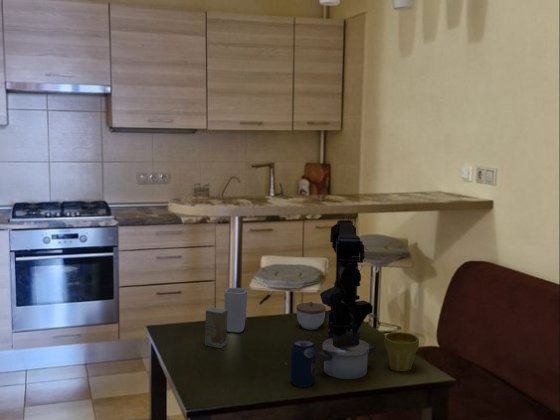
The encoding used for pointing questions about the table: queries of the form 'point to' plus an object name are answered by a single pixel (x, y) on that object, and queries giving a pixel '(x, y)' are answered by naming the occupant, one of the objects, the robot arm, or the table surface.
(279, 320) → the table surface
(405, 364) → the plant pot
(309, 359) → the soda can
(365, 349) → the lid
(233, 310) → the cup
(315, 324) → the lidded jar
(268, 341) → the table surface
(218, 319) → the skincare box
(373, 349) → the pot
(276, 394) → the table surface
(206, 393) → the table surface
